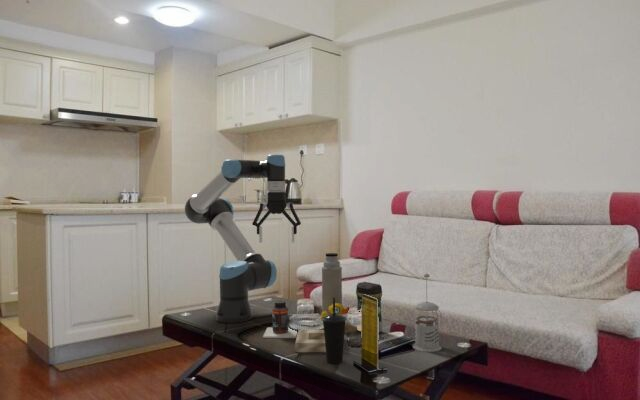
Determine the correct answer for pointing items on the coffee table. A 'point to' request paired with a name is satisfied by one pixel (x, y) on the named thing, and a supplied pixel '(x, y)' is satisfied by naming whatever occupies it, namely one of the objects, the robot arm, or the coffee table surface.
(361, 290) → the coffee jar
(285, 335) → the rubber mat
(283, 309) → the supplement bottle
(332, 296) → the thermos bottle
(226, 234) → the robot arm
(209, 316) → the coffee table surface
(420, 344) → the french press
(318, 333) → the bore block
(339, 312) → the duckling
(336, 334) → the drinking cup
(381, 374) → the coffee table surface
